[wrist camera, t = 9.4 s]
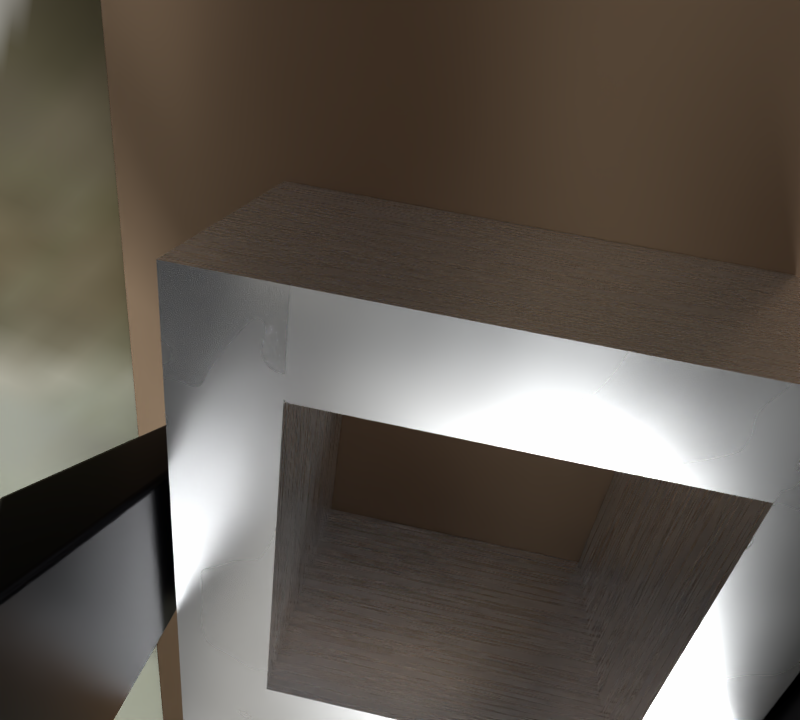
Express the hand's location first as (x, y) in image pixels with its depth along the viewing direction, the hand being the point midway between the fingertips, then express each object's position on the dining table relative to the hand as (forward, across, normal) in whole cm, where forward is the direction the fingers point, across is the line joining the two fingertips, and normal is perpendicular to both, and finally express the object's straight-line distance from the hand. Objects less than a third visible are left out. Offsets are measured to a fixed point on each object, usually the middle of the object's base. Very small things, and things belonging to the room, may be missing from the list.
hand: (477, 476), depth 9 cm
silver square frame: (+1, 0, 0) cm, 1 cm away
